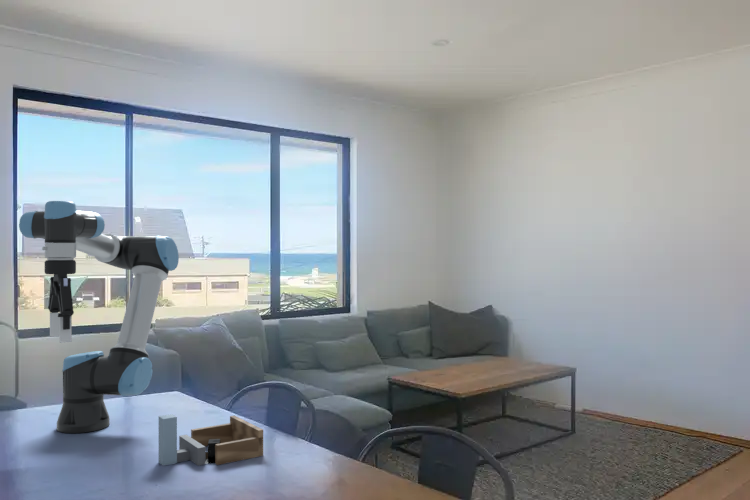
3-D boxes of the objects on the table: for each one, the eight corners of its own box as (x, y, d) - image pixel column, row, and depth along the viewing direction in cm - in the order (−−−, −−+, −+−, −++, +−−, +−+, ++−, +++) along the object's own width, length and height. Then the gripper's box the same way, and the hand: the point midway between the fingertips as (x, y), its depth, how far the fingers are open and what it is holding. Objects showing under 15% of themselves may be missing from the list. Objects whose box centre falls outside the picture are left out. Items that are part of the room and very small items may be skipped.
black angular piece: (227, 466, 169) (227, 447, 169) (196, 468, 167) (196, 449, 167) (229, 450, 182) (229, 433, 182) (200, 452, 180) (200, 434, 180)
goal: (191, 447, 183) (191, 422, 183) (234, 439, 191) (234, 415, 191) (217, 465, 168) (217, 437, 168) (263, 455, 176) (263, 429, 176)
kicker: (152, 457, 174) (152, 412, 174) (186, 450, 180) (186, 407, 180) (169, 471, 163) (169, 423, 163) (205, 464, 169) (205, 417, 169)
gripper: (36, 259, 181) (36, 335, 181) (53, 259, 161) (53, 345, 161) (66, 258, 186) (66, 333, 185) (86, 259, 165) (86, 343, 165)
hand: (60, 339), depth 173 cm, fingers open, 13 cm apart
